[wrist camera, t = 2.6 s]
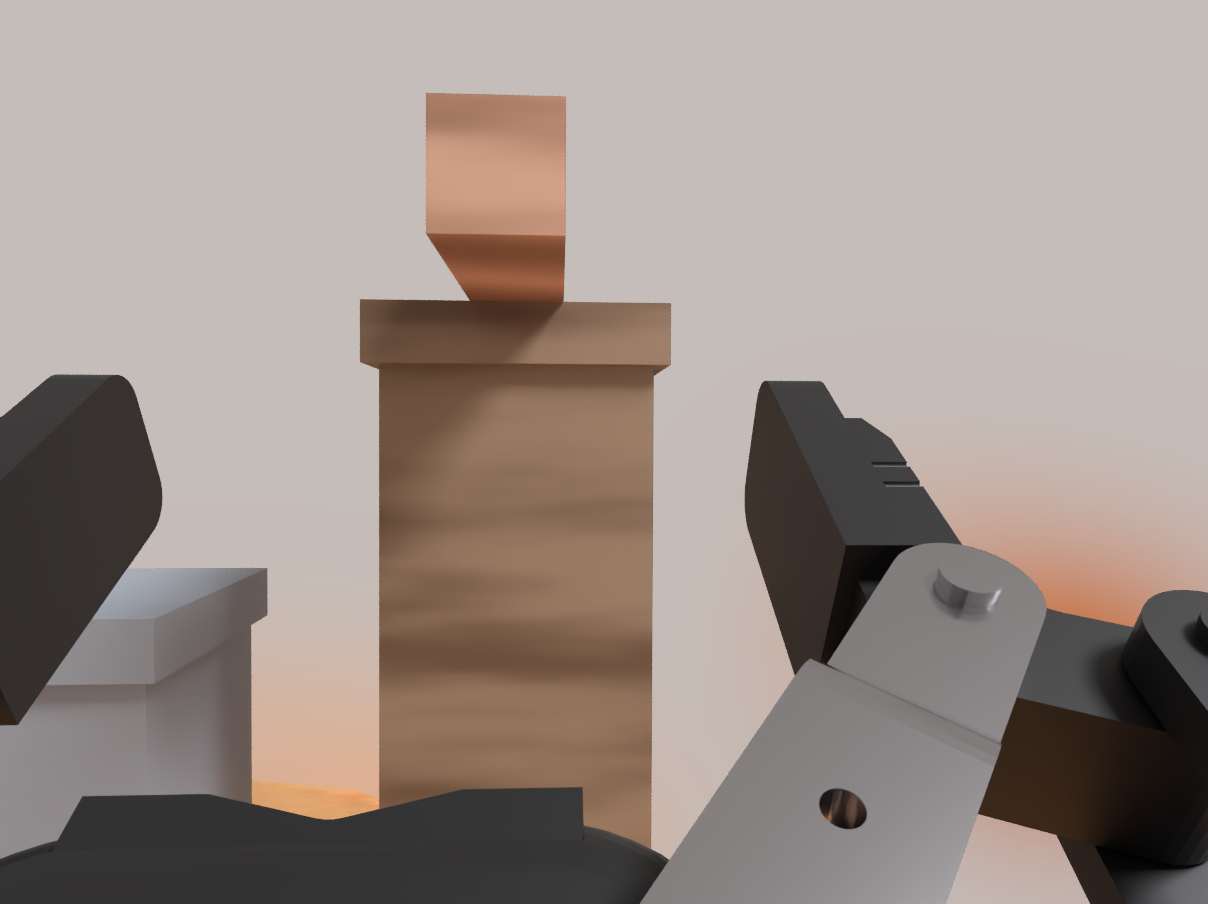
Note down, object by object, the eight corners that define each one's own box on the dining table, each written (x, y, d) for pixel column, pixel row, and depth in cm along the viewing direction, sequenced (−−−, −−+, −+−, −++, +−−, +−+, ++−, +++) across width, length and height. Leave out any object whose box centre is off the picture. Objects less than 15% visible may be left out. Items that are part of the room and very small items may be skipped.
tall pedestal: (665, 1267, 28) (670, 303, 27) (360, 1282, 27) (360, 299, 27) (637, 1049, 38) (641, 339, 37) (413, 1057, 37) (414, 336, 37)
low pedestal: (157, 1323, 26) (154, 619, 26) (-180, 1340, 26) (-189, 621, 25) (268, 1079, 36) (267, 568, 36) (27, 1087, 36) (23, 569, 35)
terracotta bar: (565, 235, 18) (566, 96, 18) (426, 233, 18) (426, 93, 18) (562, 345, 40) (562, 282, 40) (499, 344, 40) (499, 281, 40)
